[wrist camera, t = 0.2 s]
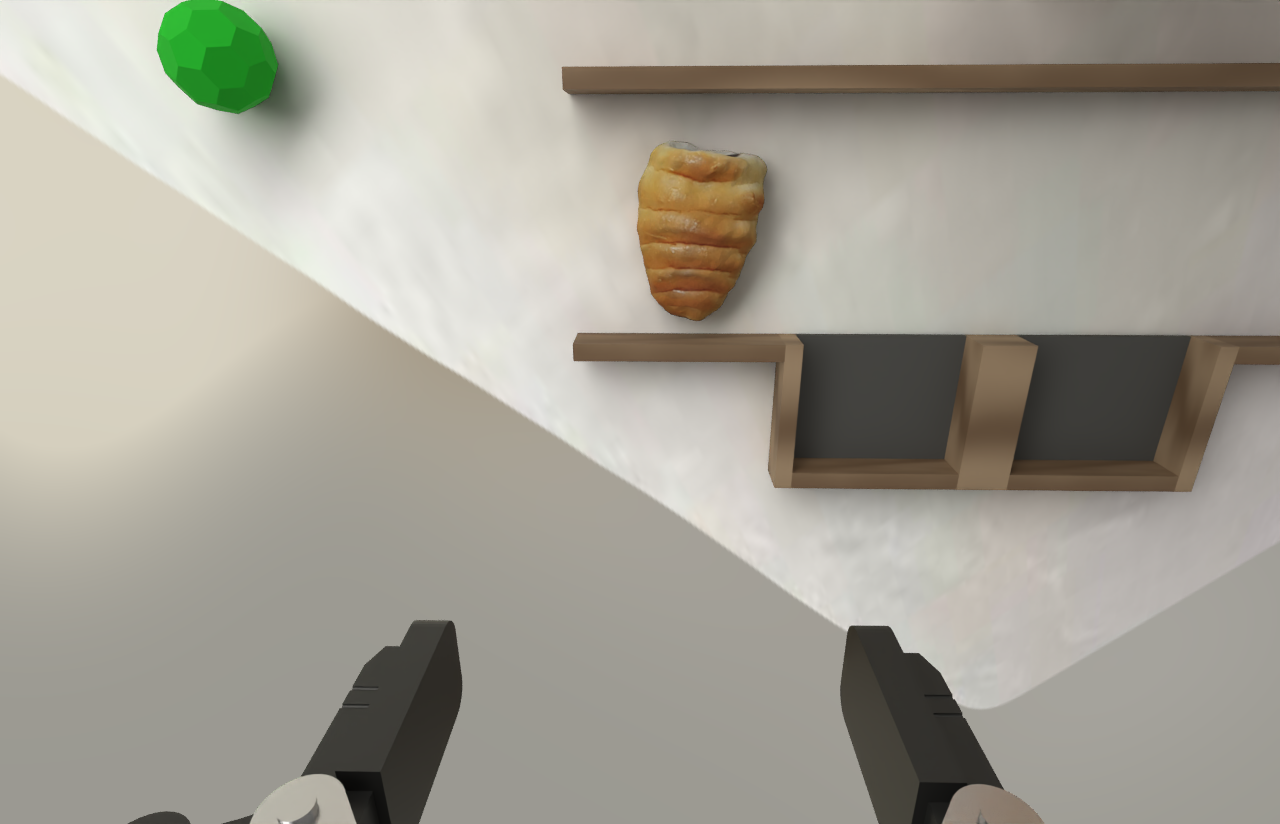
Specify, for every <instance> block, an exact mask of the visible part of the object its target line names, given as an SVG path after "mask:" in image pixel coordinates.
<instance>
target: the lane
mask: <svg viewBox="0 0 1280 824" xmlns="http://www.w3.org/2000/svg"><path fill="white" fill-rule="evenodd" d="M562 81H563V90H564V91H566V92H567V93H568V94H692V93H934V92H1176V91H1280V63H1222V64H1025V65H827V66H629V67H562ZM1190 337H1191V339H1190V343H1189V346H1188V349H1187V352H1186V356H1185V359H1184V362H1183V365H1182V369H1181V372H1180V375H1179V378H1178V382H1177V385H1176V388H1175V391H1174V395H1173V398H1172V401H1171V405H1170V408H1169V411H1168V414H1167V418H1166V421H1165V424H1164V427H1163V431H1162V434H1161V437H1160V440H1159V444H1158V447H1157V450H1156V453H1155V457H1154V460H1153V461H1110V460H1013V458H1014V453H1015V449H1016V444H1017V440H1018V435H1019V431H1020V426H1021V422H1022V417H1023V413H1024V408H1025V404H1026V399H1027V395H1028V390H1029V386H1030V381H1031V377H1032V372H1033V368H1034V363H1035V359H1036V354H1037V350H1038V346H1037V345H1035V344H1033V343H1031V342H1029V341H1027V340H1025V339H1023V338H1021V337H1019V336H1017V335H966V342H965V348H964V353H963V359H962V364H961V370H960V375H959V381H958V386H957V392H956V397H955V403H954V408H953V414H952V419H951V425H950V431H949V436H948V442H947V447H946V453H945V458H944V459H865V458H794V448H795V437H796V426H797V415H798V404H799V393H800V382H801V370H802V359H803V348H804V345H803V343H802V342H801V341H800V340H799V338H798V337H797V336H796V335H795V334H664V333H578V334H577V336H576V338H575V341H574V343H573V359H574V361H656V362H776V370H775V384H774V397H773V410H772V423H771V437H770V450H769V463H768V471H769V474H770V477H771V480H772V482H773V485H774V488H844V489H953V490H1062V491H1171V492H1191V491H1192V488H1193V485H1194V482H1195V479H1196V476H1197V473H1198V470H1199V467H1200V464H1201V461H1202V458H1203V455H1204V452H1205V449H1206V446H1207V443H1208V440H1209V437H1210V434H1211V431H1212V428H1213V425H1214V422H1215V419H1216V416H1217V413H1218V410H1219V407H1220V404H1221V401H1222V398H1223V395H1224V392H1225V389H1226V386H1227V383H1228V380H1229V377H1230V374H1231V371H1232V368H1233V365H1234V364H1263V365H1280V336H1190Z"/></svg>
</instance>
